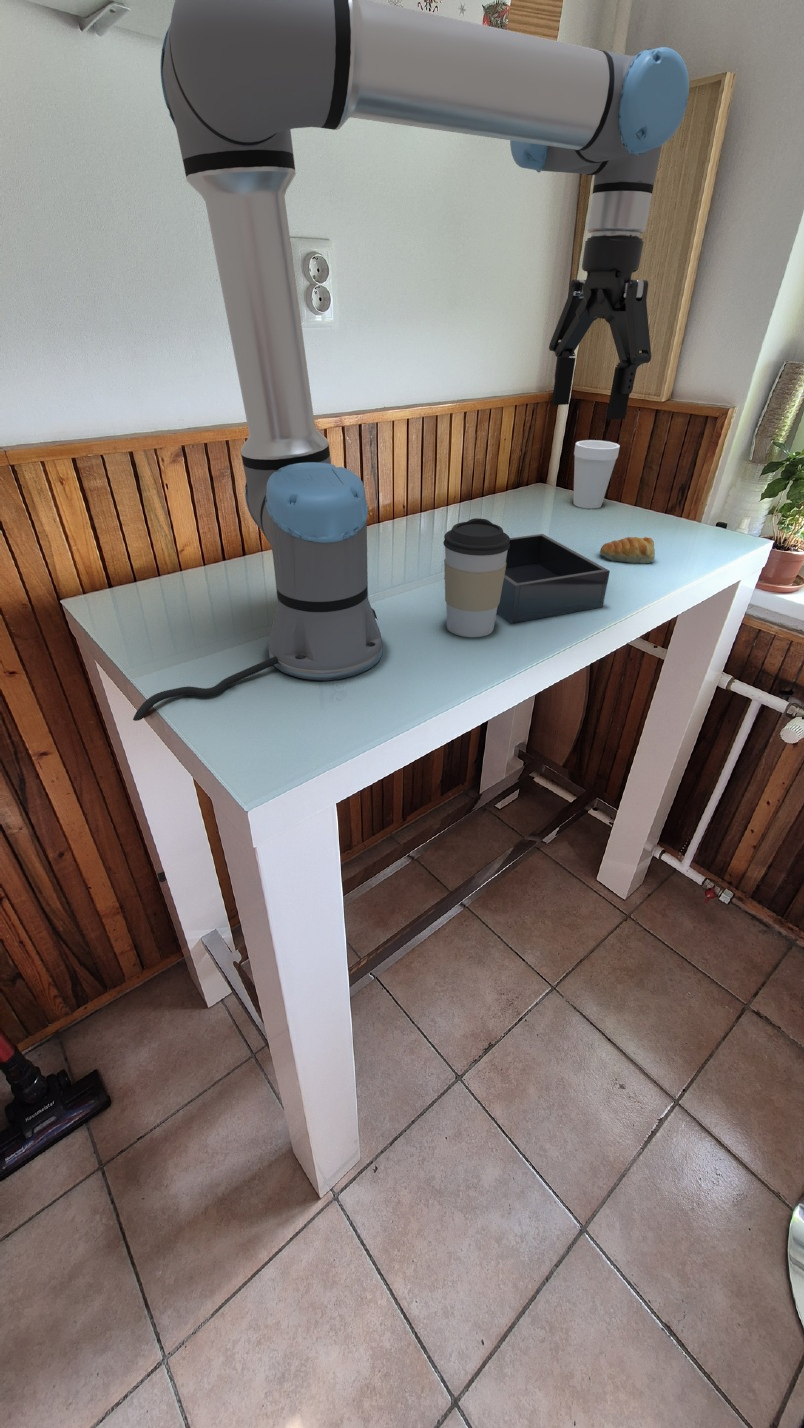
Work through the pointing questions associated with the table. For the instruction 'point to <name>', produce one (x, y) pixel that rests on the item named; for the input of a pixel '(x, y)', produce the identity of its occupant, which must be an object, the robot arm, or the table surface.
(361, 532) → the robot arm
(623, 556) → the pastry
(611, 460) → the foam cup
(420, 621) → the table surface
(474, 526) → the coffee cup
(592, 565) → the dark grey open box
